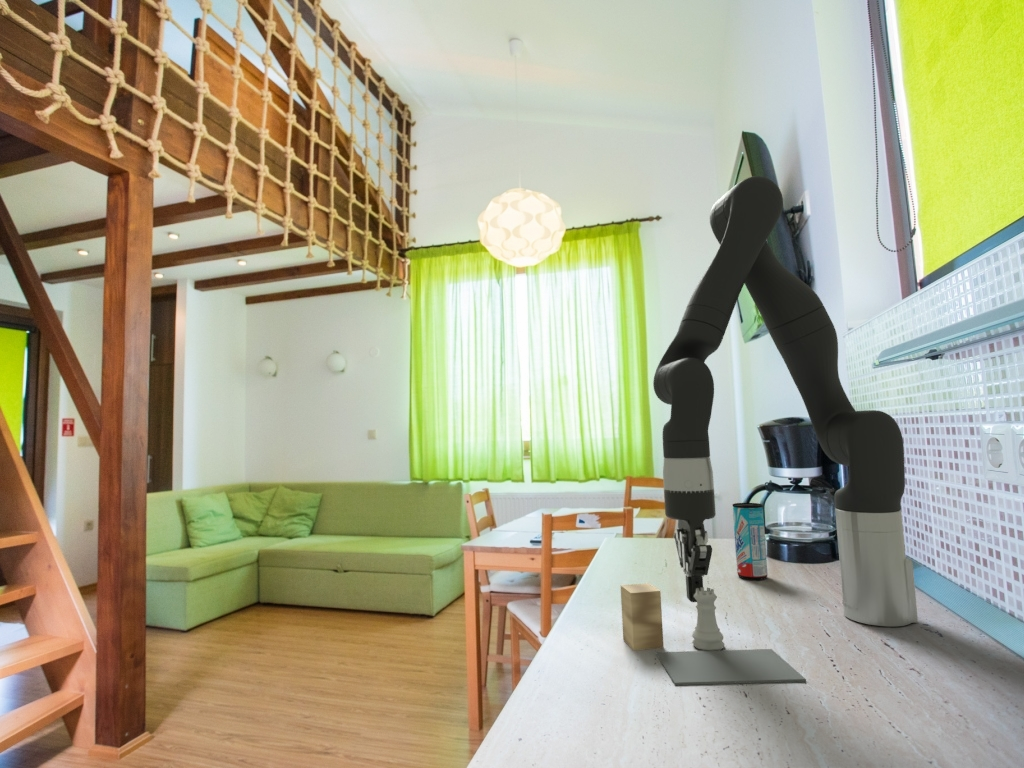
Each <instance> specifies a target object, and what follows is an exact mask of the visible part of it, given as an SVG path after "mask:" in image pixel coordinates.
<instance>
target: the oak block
mask: <svg viewBox="0 0 1024 768" xmlns="http://www.w3.org/2000/svg"><path fill="white" fill-rule="evenodd" d="M661 593H662V592H661V590H660V589H659V588H657V587H656V586H654V585H652V584H651V583H650V582H647V583H636V584H635V583H633V584H623V585H620V598H621V599H620V600H621V601H620V602H621V621H622V622H621V623H622V640H623V641H624V642H625V643H626V644H627V645H628V646H629V647H630V648H631V650H632V651H640V650H641V651H642V650H650V649H651V650H653V649H662V648H663V649H664V647H665V646H664V630H663V615H662V614H663V613H662V611H663V610H662V596H661Z"/></svg>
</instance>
